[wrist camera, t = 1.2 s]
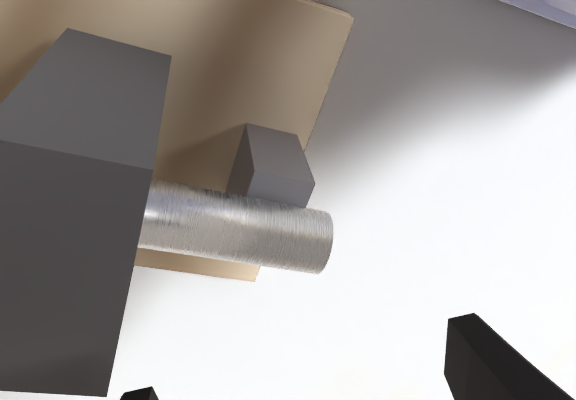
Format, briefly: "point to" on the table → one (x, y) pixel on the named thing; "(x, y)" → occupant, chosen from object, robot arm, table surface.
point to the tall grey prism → (74, 208)
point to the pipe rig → (215, 121)
